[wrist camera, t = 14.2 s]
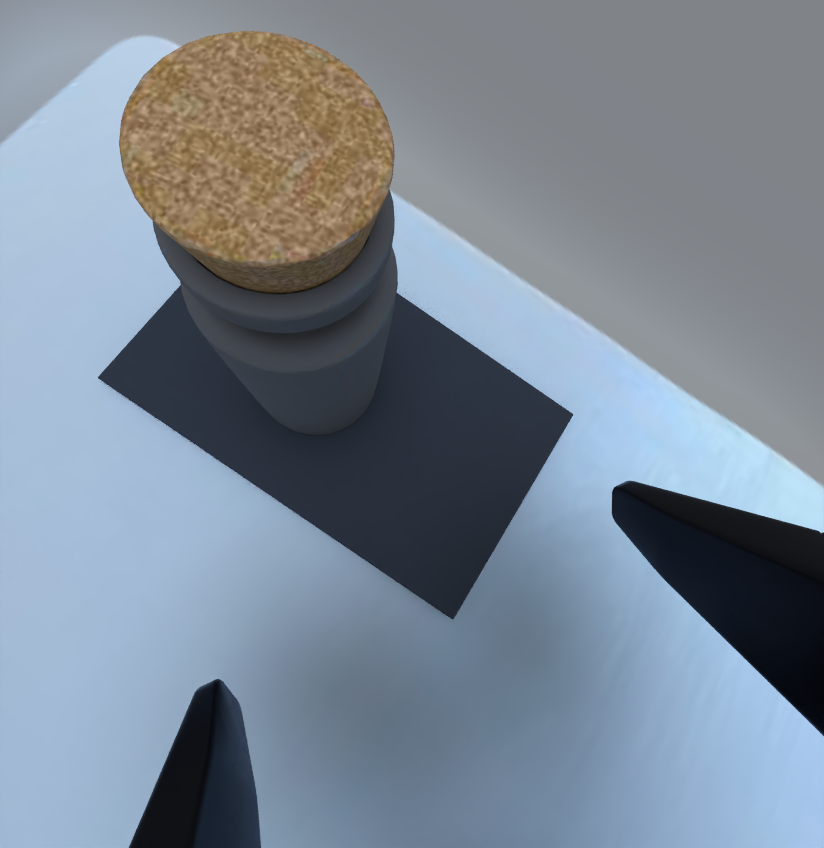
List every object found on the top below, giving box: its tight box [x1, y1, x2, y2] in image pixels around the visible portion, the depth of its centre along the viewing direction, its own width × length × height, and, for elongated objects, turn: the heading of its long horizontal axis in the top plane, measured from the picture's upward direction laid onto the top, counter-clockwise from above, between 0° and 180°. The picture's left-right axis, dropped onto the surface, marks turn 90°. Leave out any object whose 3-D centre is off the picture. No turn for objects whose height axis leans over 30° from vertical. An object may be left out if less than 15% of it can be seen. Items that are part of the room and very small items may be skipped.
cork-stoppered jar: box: [119, 31, 398, 435], centre depth 15 cm, size 6×6×15 cm
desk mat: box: [98, 285, 573, 619], centre depth 23 cm, size 20×12×1 cm, turn 56°
